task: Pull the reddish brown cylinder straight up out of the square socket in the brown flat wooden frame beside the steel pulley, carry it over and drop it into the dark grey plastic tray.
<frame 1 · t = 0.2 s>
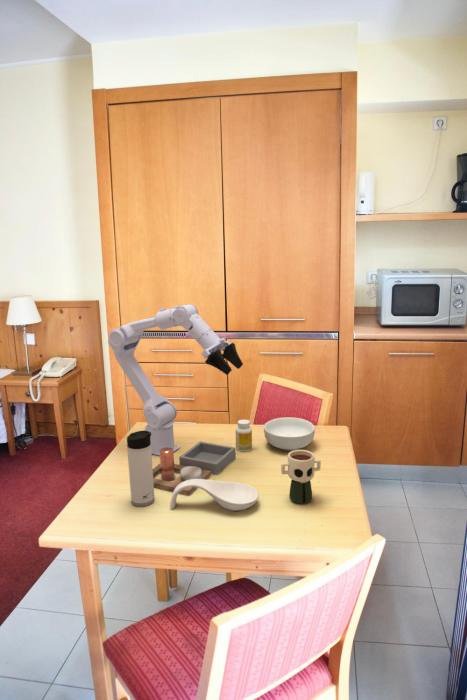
hand: (235, 369, 159), 31 cm above the table, tool tilted 45°, fingers open, 7 cm apart
cereal bowl: (289, 446, 181), on the table
tray: (208, 462, 169), on the table
travel mug: (143, 501, 147), on the table
character mug: (300, 499, 146), on the table
reddish brown cylinder: (168, 478, 160), resting in brown flat wooden frame
brown flat wooden frame: (176, 480, 158), on the table
spoon rest: (214, 506, 144), on the table
supplement bottle: (244, 449, 179), on the table
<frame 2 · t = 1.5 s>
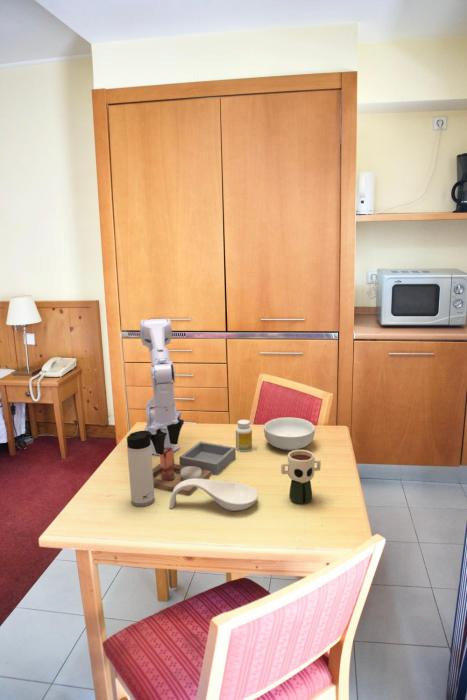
hand: (167, 448, 157), 10 cm above the table, tool pointing down, fingers open, 7 cm apart
nothing on the table moved.
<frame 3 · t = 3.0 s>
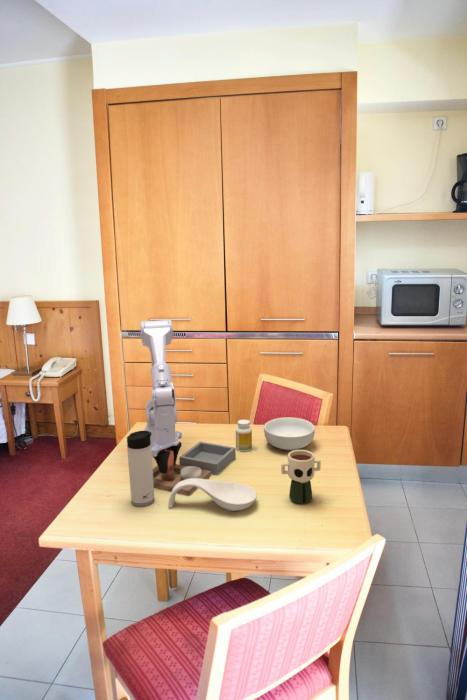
hand: (167, 469, 159), 3 cm above the table, tool pointing down, fingers closed on reddish brown cylinder, 4 cm apart
reddish brown cylinder: (168, 478, 160), resting in brown flat wooden frame, touching gripper
everything else where it was.
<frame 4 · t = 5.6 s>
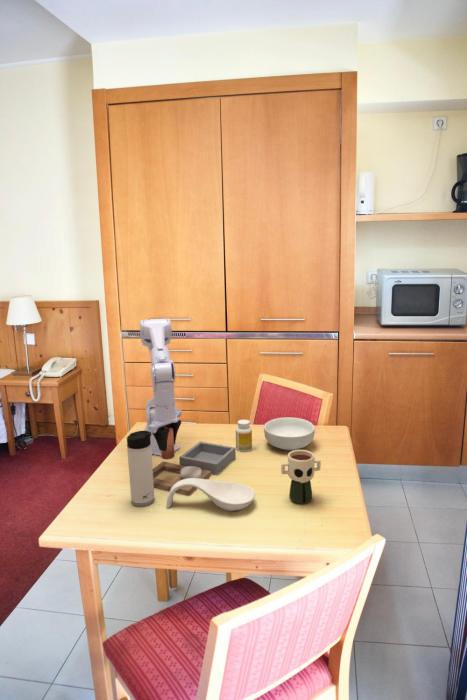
hand: (167, 447, 158), 10 cm above the table, tool pointing down, fingers closed on reddish brown cylinder, 4 cm apart
reddish brown cylinder: (167, 456, 158), point 7 cm above the table, touching gripper
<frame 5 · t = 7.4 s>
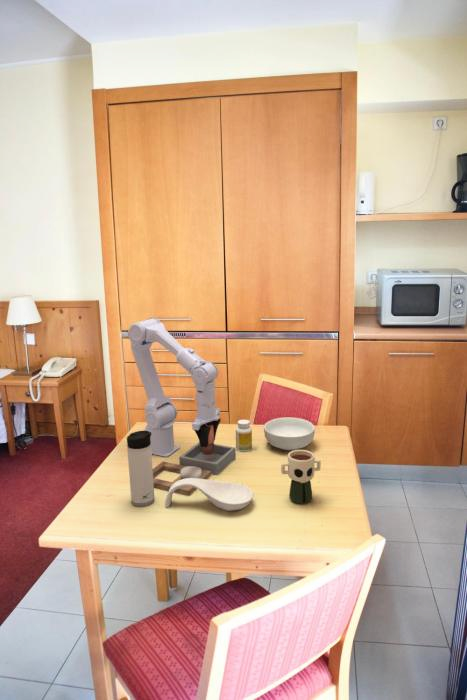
hand: (207, 443, 168), 6 cm above the table, tool pointing down, fingers closed on reddish brown cylinder, 4 cm apart
reddish brown cylinder: (207, 452, 169), point 4 cm above the table, touching gripper
when the fingers open (4 cm above the table, at t = 8.6 s): reddish brown cylinder stays where it is, resting on tray.
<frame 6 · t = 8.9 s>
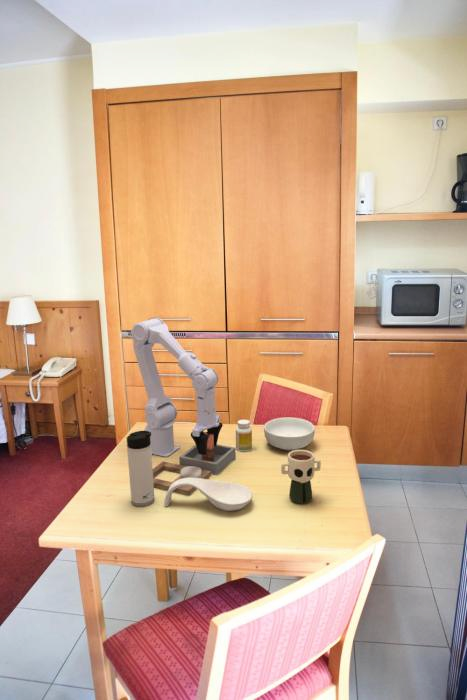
hand: (207, 449, 168), 4 cm above the table, tool pointing down, fingers open, 7 cm apart
reddish brown cylinder: (208, 460, 169), point 1 cm above the table, touching tray
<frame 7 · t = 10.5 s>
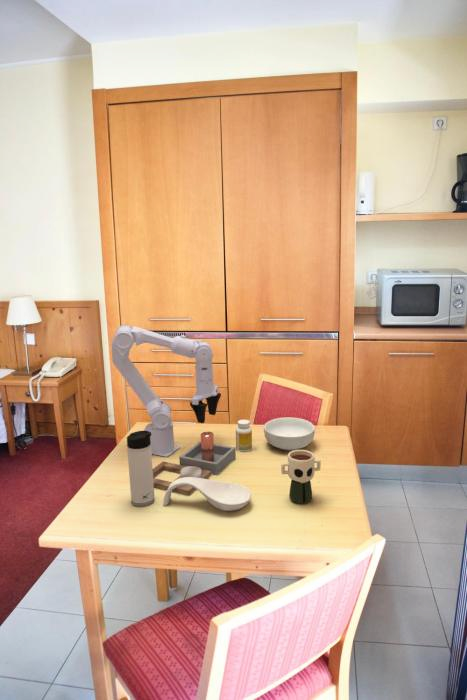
hand: (206, 418, 178), 10 cm above the table, tool pointing down, fingers open, 7 cm apart
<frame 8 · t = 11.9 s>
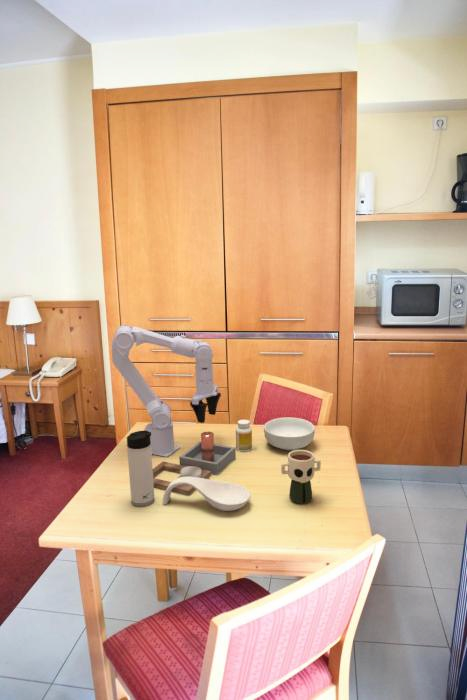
hand: (206, 418, 178), 10 cm above the table, tool pointing down, fingers open, 7 cm apart
at the end: reddish brown cylinder inside the target area on the tray (0.0 cm from its centre), point 0.6 cm above the tray's base; the gripper is holding nothing; reddish brown cylinder moved 15.2 cm from its start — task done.
